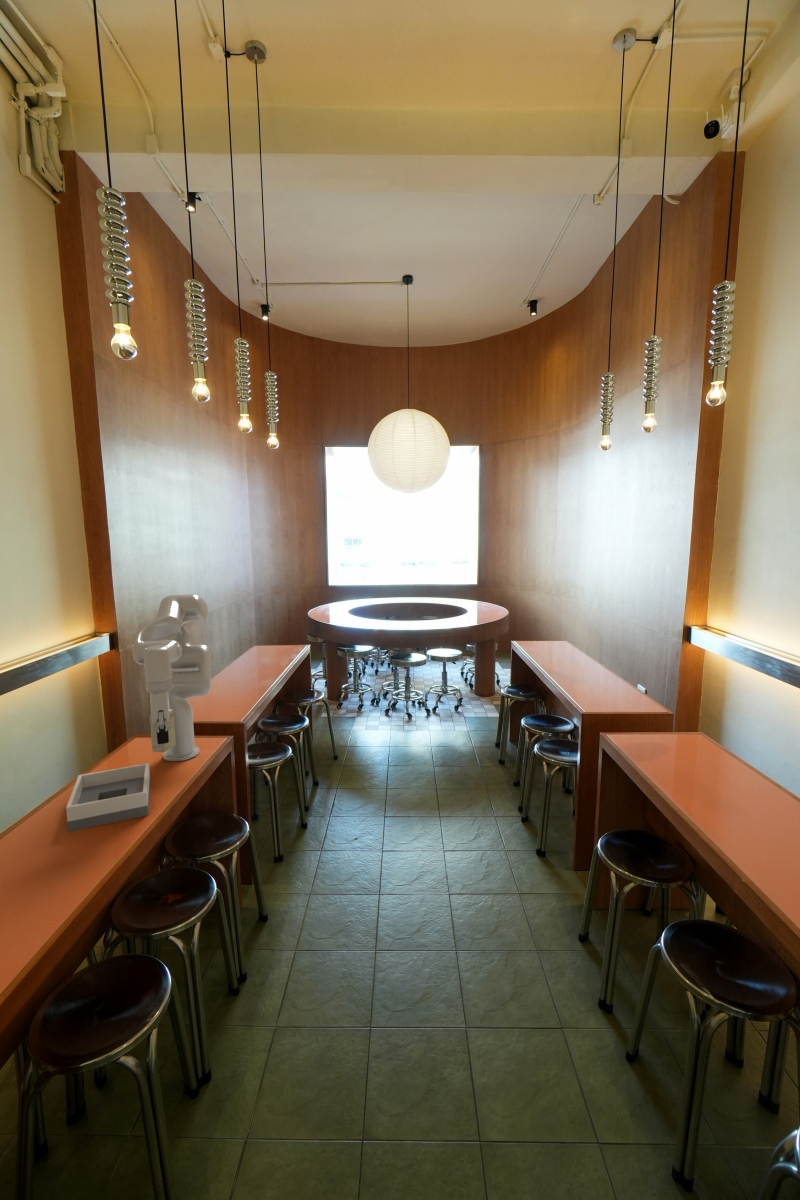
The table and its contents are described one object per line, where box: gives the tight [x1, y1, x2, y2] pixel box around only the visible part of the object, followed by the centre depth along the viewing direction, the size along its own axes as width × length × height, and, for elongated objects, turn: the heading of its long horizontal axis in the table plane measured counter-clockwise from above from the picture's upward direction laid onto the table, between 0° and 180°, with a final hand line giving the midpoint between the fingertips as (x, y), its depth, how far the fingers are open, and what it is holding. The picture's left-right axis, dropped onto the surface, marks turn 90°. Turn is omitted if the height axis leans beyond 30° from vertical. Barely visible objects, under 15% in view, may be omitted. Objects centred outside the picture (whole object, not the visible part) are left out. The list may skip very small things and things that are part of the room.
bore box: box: [65, 762, 151, 833], centre depth 157 cm, size 22×20×7 cm
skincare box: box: [149, 709, 176, 753], centre depth 164 cm, size 6×4×12 cm
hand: (163, 738), depth 164 cm, fingers closed on skincare box, 7 cm apart
